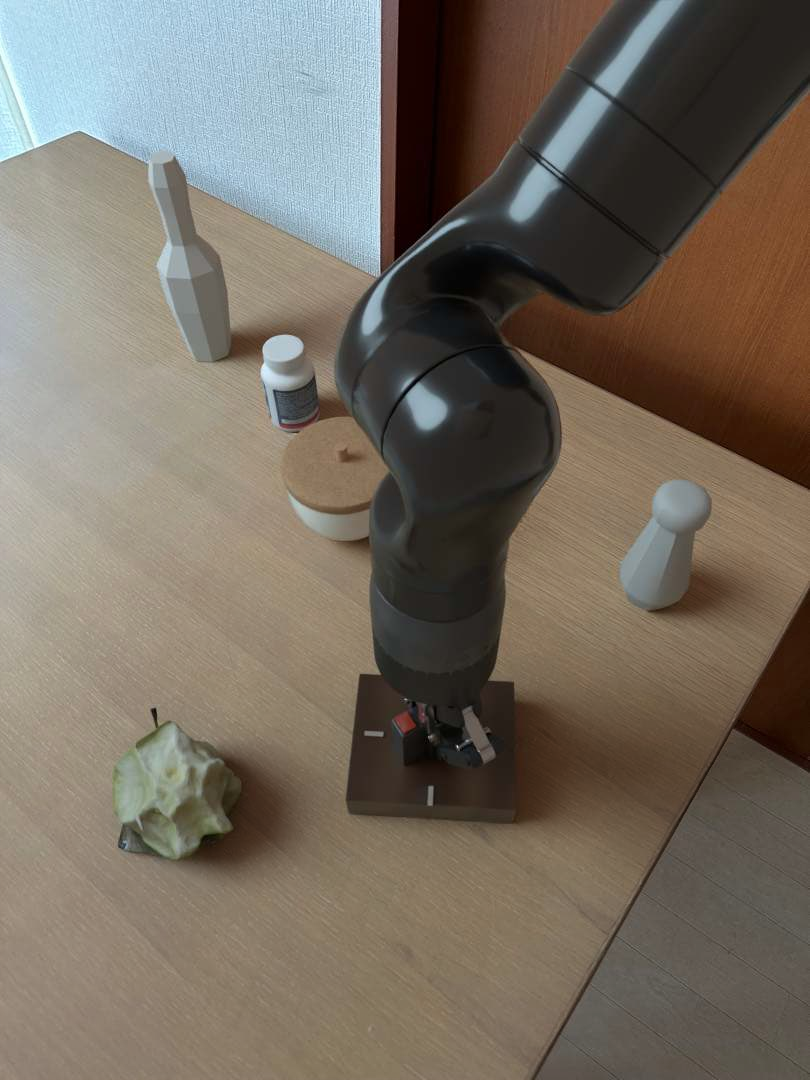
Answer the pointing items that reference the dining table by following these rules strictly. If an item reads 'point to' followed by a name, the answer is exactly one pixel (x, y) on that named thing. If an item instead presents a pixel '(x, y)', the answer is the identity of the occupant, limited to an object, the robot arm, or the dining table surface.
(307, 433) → the trinket box
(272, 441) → the dining table surface
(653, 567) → the salt shaker
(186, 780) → the fruit
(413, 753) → the handle
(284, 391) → the pill bottle
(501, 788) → the handle panel
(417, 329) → the robot arm
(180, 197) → the faceted bottle
